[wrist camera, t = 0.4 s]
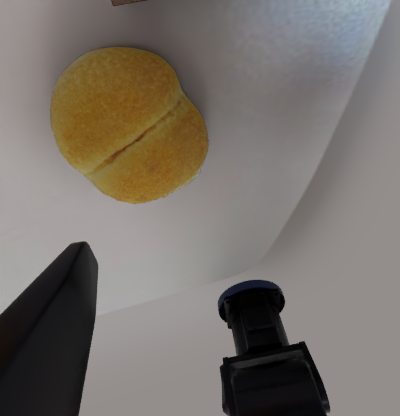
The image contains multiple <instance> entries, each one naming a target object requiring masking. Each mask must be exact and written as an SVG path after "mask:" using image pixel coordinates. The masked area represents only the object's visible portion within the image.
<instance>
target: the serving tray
mask: <svg viewBox="0 0 400 416" xmlns="http://www.w3.org/2000/svg"><path fill="white" fill-rule="evenodd" d="M111 1H112V5H113V6H117V5H123V4H129V3H134V2H140V1H145V0H111Z"/></svg>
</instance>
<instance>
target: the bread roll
mask: <svg viewBox="0 0 400 416" xmlns="http://www.w3.org/2000/svg"><path fill="white" fill-rule="evenodd" d="M50 119H51V128H52V131H53V133H54V136H55V140H56V143H57V146H58V148H59V150H60V152H61V154H62V155H63V157H64V158H65V159H66V160H67V161H68V163H69V164H70V165H72V166H73V167H74V168H75V169H77V170H78V171H79V172H80V173H82V174H83V175H84V176H85V177H86V178H87V179H89V180H90V181H91V182H92V184H94V185H95V186H96V187H97V188H98V189H99V190H100V191H101V192H102V193H104V194H106V195H108V196H110V197H112V198H114V199H116V200H118V201H122V202H127V203H133V204H136V203H145V202H149V201H152V200H156V199H158V198H160V197H166V196H167V195H168V194H169V193H173V192H174V191H176V190H178V189H180V188H181V187H183V186H185V185H187V184H188V183H190V182H191V181H192V180H193V179H195V178H196V177H197V176H198V175H199V173H200V171H201V165H202V164H203V162H204V160H205V157H206V154H207V151H208V135H207V130H206V125H205V122H204V119H203V117H202V116H201V114H200V112H199V111H198V109H197V108H196V107H195V106H194V104H193V103H192V102H191V101H190V100H189V99H188V98H187V97H186V95H185V94H184V92H183V91H182V89H181V87H180V84H179V80H178V78H177V75H176V73H175V71H174V69H173V68H172V67H171V66H170V65H169V64H168V63H167V62H166V61H165V60H164V59H163V58H162V57H160V56H159V55H157V54H154V53H152V52H148V51H145V50H142V49H136V48H127V47H110V48H101V49H96V50H92V51H89V52H87V53H85V54H83V55H81V56H80V57H79V58H77V59H76V60H75V61H74V62H73V63H72V64H71V65H70V66H68V67H67V68H66V70H65V71H64V72H63V73H62V75H61V76H60V78H59V80H58V82H57V84H56V86H55V88H54V91H53V94H52V98H51V108H50Z"/></svg>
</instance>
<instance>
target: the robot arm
mask: <svg viewBox="0 0 400 416" xmlns="http://www.w3.org/2000/svg"><path fill="white" fill-rule="evenodd" d="M97 281H98V263H97V260H96V258H95V256H94V254H93V252H92V250H91V248H90V246H89V244H88V243H87V242H84V241H83V242H76V243H72V244H70V245H69V246H68V247H67V248H66V249H65V250H64V251H63V252H62V253H61V254H60V255H59V256H58V257H57V258H56V259H55V260H54V261H53V262H52V263H51V264H50V265H49V266H48V267H47V268H46V269H45V270H44V271H43V272H42V273H41V274H40V275H39V276H38V277H37V278H36V279H35V280H34V281H33V282H32V283H31V284H30V285H29V286H28V287H27V288H26V289H25V290H24V291H23V292H22V293H21V294H20V295H19V296H18V297H17V298H16V299H15V300H14V301H13V303H12V304H11V305H10V306H9V307H8V308H7V309H6V310H5V311H4V312H3V313H2V314H1V315H0V416H78V415H79V410H80V403H81V398H82V392H83V387H84V381H85V375H86V370H87V363H88V358H89V353H90V347H91V341H92V335H93V330H94V323H95V315H96V299H97ZM223 301H224V307H225V313H226V320H227V326H228V329H232V332H233V338H234V343H235V348H236V354H237V356H234V357H230V358H228V357H225V358H223V365H221V366H220V373H221V380H222V408H223V412H224V413H225V414H226V415H228V416H327V415H326V413H330V405H329V401H328V397H327V394H326V391H325V388H324V385H323V382H322V379H321V377H320V375H319V372H318V370H317V368H316V366H315V364H314V361H313V359H312V357H311V355H310V353H309V351H308V348H307V346H306V344H305V342H304V341H302V342H299V343H297V344H292V345H289V343H288V339H287V336H286V333H285V330H284V327H283V324H282V321H281V318H280V315H279V314H280V290H279V289H277V288H275V289H269V290H263V291H257V292H250V293H244V294H238V295H232V296H227V297H224V299H223Z"/></svg>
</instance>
